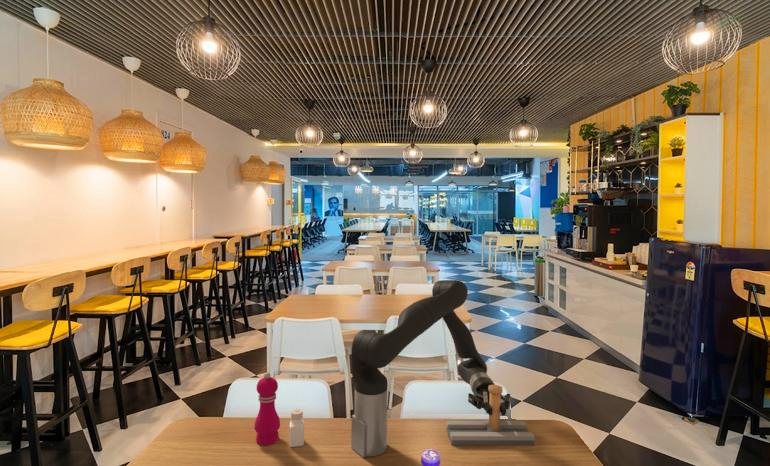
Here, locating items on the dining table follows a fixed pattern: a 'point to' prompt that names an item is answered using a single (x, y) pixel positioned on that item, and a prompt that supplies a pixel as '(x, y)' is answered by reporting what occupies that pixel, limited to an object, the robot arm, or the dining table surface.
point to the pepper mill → (267, 411)
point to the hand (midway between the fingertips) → (497, 412)
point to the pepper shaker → (296, 428)
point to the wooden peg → (494, 408)
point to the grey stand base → (489, 433)
